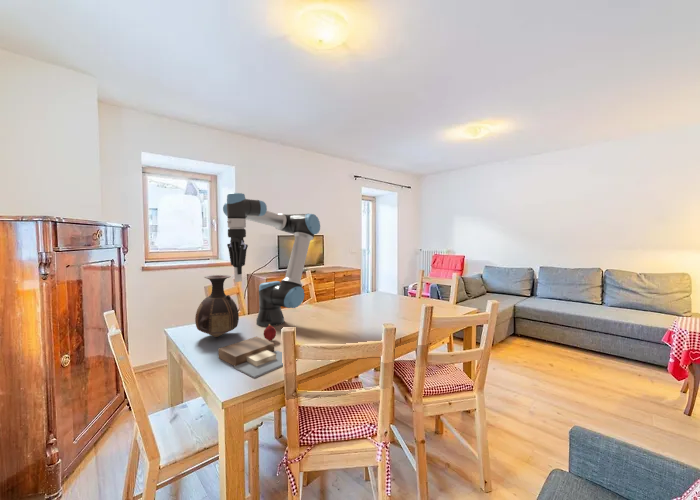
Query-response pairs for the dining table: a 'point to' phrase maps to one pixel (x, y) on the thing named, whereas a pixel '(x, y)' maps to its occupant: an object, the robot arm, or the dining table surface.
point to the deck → (244, 350)
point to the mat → (261, 366)
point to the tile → (261, 357)
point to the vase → (217, 310)
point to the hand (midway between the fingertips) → (238, 281)
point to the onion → (269, 333)
